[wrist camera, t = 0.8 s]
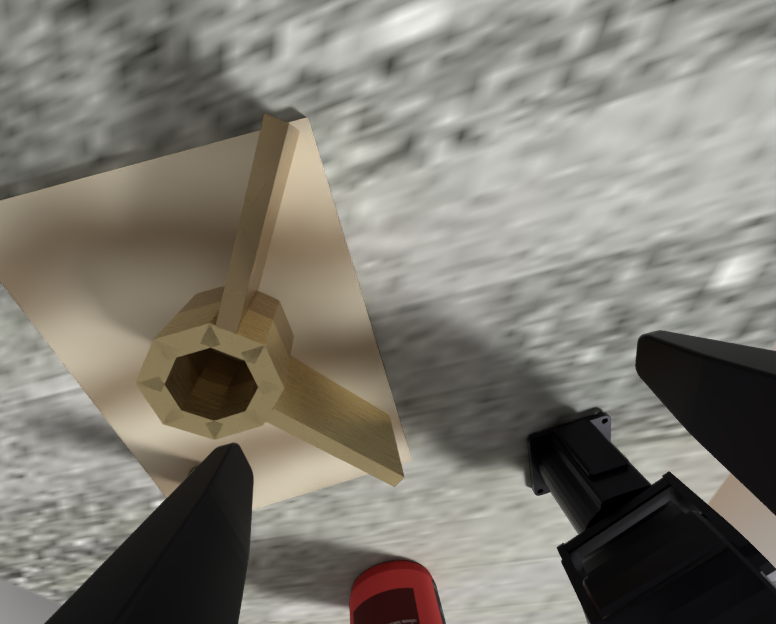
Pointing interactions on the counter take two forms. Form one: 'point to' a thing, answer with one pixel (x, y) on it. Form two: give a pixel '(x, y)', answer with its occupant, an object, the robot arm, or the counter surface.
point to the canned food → (395, 596)
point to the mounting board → (191, 295)
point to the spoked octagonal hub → (258, 348)
